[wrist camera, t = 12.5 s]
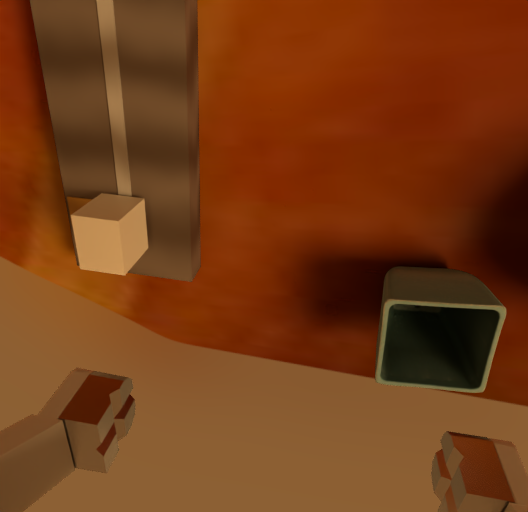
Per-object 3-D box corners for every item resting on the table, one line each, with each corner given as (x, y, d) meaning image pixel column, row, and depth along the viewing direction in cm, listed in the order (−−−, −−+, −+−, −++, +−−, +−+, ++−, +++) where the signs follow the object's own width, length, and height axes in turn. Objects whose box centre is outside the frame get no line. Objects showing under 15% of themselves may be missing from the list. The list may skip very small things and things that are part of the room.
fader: (101, 193, 38) (70, 215, 34) (144, 198, 37) (118, 221, 33) (108, 242, 40) (80, 269, 36) (148, 247, 40) (124, 275, 36)
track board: (46, -43, 33) (19, -49, 30) (196, -34, 31) (182, -39, 29) (92, 251, 45) (76, 266, 43) (200, 266, 44) (191, 282, 41)
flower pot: (376, 246, 40) (384, 300, 32) (475, 250, 39) (509, 307, 31) (368, 321, 44) (374, 384, 36) (458, 327, 43) (483, 394, 35)
